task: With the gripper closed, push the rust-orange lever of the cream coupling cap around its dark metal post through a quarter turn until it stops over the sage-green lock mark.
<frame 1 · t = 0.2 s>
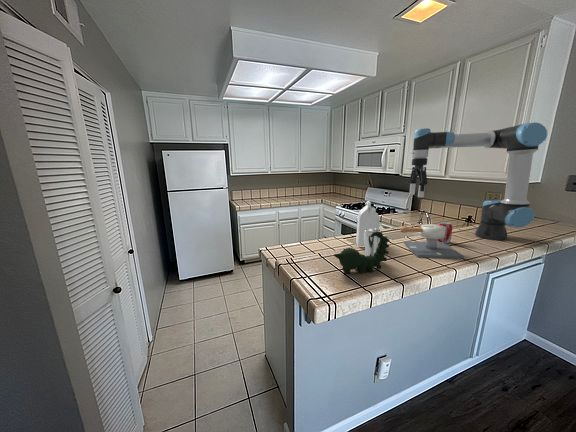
hand: (416, 195, 131), 28 cm above the countertop, tool pointing down, fingers open, 13 cm apart
post base: (430, 250, 123), on the countertop
coupling: (422, 231, 121), point 11 cm above the countertop, hinge at 0.0°
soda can: (443, 242, 135), on the countertop
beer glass: (370, 258, 115), on the countertop
toy figurine: (360, 271, 102), on the countertop
milk: (366, 244, 136), on the countertop
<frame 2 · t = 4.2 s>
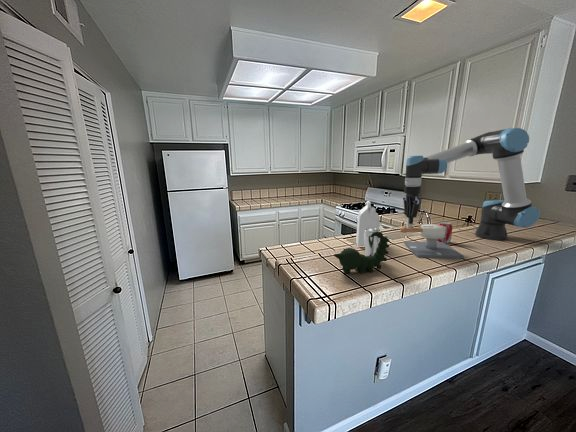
hand: (409, 228, 124), 12 cm above the countertop, tool pointing down, fingers closed
coupling: (422, 231, 121), point 11 cm above the countertop, hinge at 0.1°, touching gripper
everything else where it was.
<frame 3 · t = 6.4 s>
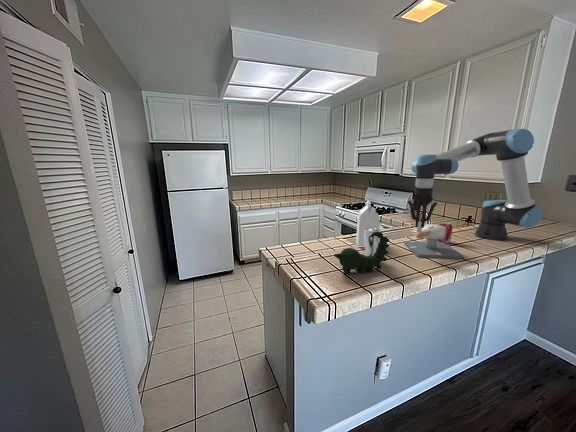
hand: (419, 233, 115), 11 cm above the countertop, tool pointing down, fingers closed
coupling: (428, 233, 118), point 11 cm above the countertop, hinge at 45.6°, touching gripper
everything else where it was.
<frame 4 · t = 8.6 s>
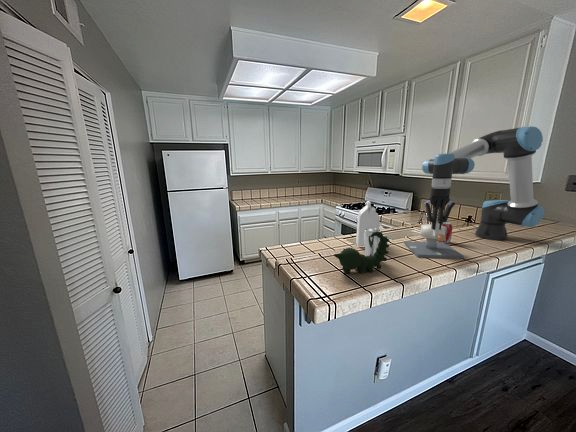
hand: (435, 235, 111), 11 cm above the countertop, tool pointing down, fingers closed
coupling: (435, 233, 116), point 11 cm above the countertop, hinge at 81.2°, touching gripper
everything else where it was.
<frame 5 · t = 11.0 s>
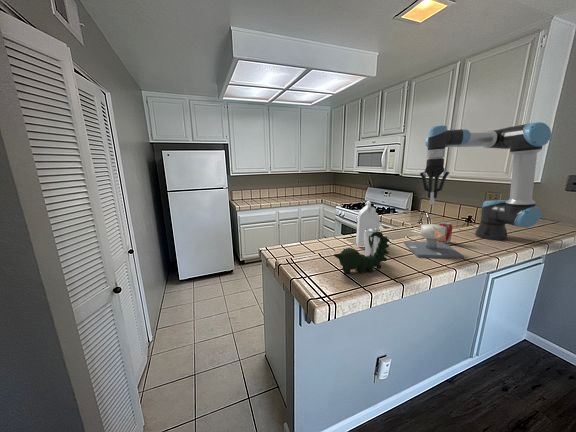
hand: (431, 204, 120), 25 cm above the countertop, tool pointing down, fingers closed
coupling: (435, 233, 116), point 11 cm above the countertop, hinge at 81.3°
everything else where it was.
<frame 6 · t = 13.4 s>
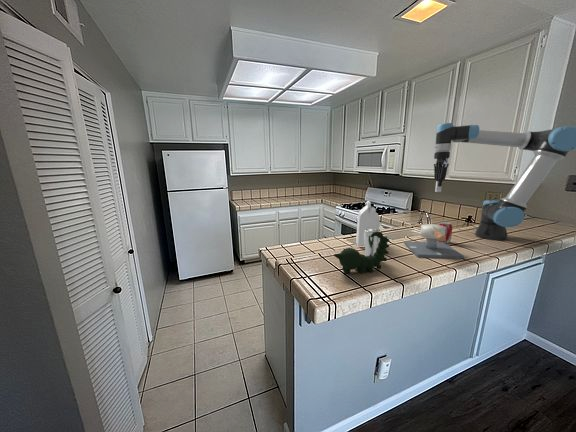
hand: (438, 191, 137), 29 cm above the countertop, tool pointing down, fingers closed
nothing on the countertop moved.
at the end: coupling at +81° (first picture: +0°) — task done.
